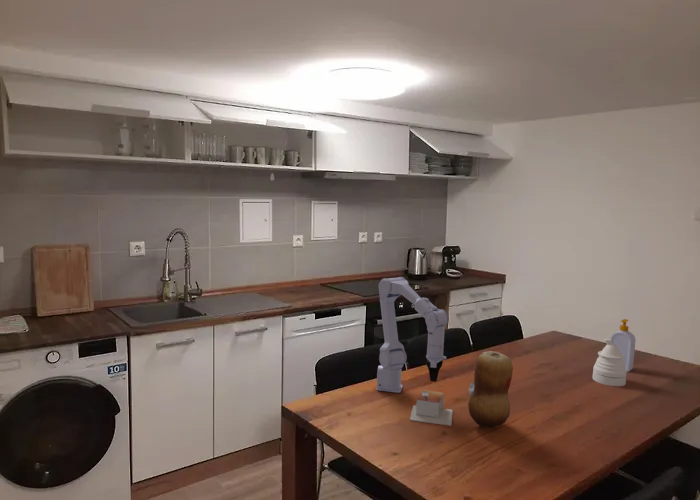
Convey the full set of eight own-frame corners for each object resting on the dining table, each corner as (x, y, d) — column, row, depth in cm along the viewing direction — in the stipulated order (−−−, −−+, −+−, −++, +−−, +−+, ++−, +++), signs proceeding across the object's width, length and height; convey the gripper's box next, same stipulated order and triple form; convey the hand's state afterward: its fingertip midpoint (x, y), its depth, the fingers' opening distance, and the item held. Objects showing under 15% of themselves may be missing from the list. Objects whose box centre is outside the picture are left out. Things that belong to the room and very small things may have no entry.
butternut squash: (502, 438, 164) (507, 362, 162) (461, 427, 171) (466, 354, 169) (513, 423, 176) (518, 352, 173) (475, 413, 183) (479, 344, 180)
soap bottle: (633, 369, 239) (638, 320, 236) (628, 372, 234) (633, 322, 231) (612, 364, 245) (616, 316, 242) (607, 367, 240) (612, 319, 237)
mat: (409, 420, 175) (409, 419, 175) (413, 406, 188) (413, 405, 188) (451, 425, 172) (451, 424, 172) (452, 410, 185) (452, 409, 185)
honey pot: (593, 383, 218) (597, 341, 216) (591, 373, 230) (595, 334, 228) (627, 388, 214) (631, 346, 212) (623, 378, 225) (627, 338, 223)
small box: (444, 392, 186) (439, 403, 176) (443, 407, 187) (438, 418, 177) (422, 388, 189) (416, 399, 179) (421, 403, 189) (415, 414, 179)
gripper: (446, 351, 176) (443, 389, 177) (447, 339, 190) (445, 375, 191) (425, 348, 177) (423, 387, 179) (428, 337, 191) (426, 373, 193)
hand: (433, 380), depth 185 cm, fingers closed
